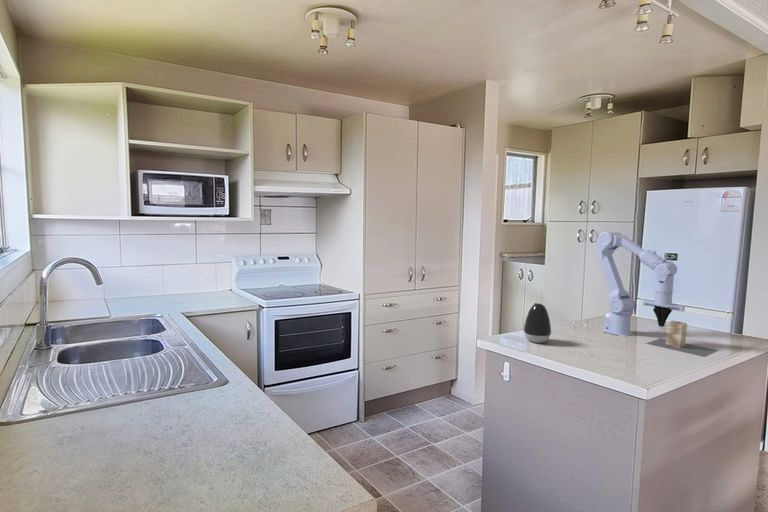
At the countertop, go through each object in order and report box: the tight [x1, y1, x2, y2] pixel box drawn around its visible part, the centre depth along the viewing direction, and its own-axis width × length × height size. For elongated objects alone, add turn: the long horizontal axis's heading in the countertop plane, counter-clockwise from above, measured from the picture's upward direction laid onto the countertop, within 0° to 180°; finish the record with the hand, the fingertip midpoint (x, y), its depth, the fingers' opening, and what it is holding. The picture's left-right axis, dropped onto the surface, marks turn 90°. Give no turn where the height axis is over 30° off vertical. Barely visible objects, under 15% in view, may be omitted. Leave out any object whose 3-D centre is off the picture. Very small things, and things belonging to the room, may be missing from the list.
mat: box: [645, 337, 719, 357], centre depth 173 cm, size 20×14×1 cm
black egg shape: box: [523, 302, 552, 344], centre depth 178 cm, size 10×10×15 cm
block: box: [665, 320, 688, 348], centre depth 174 cm, size 5×5×9 cm
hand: (661, 326), depth 179 cm, fingers closed
